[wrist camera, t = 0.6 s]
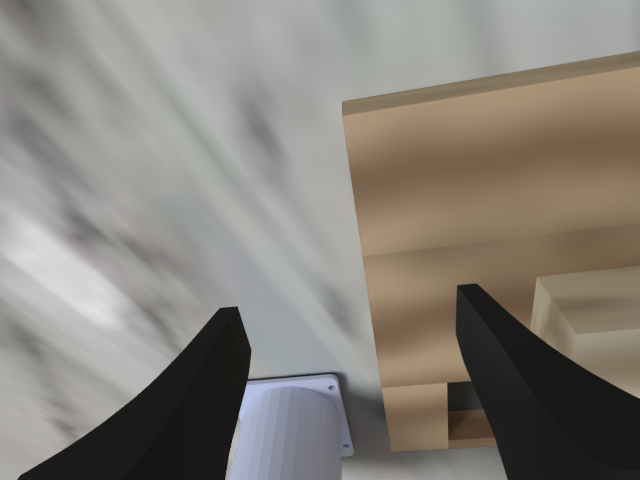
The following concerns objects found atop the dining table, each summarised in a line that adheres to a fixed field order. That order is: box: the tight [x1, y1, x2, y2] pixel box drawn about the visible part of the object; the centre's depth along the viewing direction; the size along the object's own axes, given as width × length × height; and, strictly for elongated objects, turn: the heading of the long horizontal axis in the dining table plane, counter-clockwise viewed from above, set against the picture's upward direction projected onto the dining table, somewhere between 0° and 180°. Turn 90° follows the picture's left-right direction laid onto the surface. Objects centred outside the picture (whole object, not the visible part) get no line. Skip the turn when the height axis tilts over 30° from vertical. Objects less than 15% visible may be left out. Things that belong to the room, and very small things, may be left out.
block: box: [530, 266, 640, 398], centre depth 20 cm, size 5×5×4 cm
